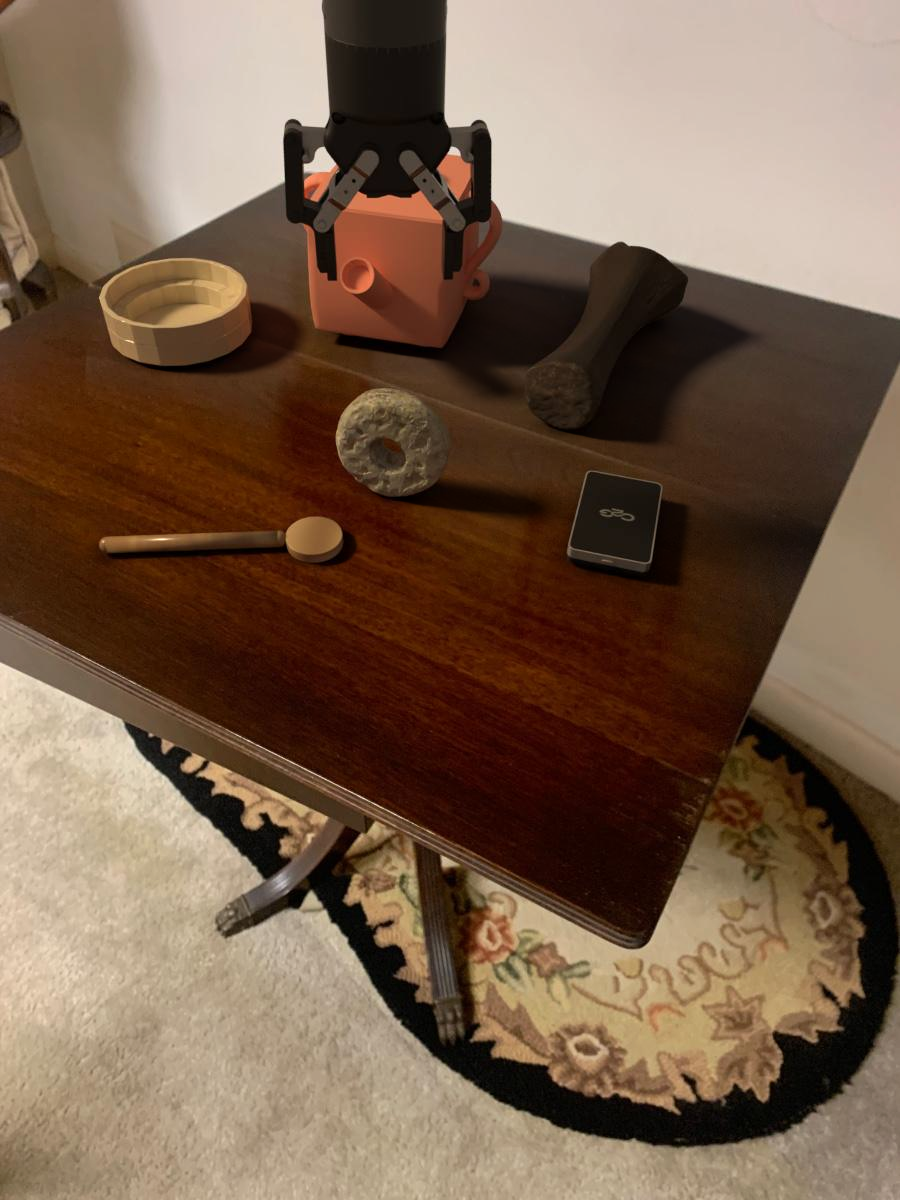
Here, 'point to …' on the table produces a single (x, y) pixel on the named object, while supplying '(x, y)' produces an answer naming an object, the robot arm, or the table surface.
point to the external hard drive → (615, 523)
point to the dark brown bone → (603, 332)
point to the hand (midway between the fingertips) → (390, 275)
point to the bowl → (177, 311)
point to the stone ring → (401, 423)
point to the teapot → (397, 265)
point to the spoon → (242, 541)
